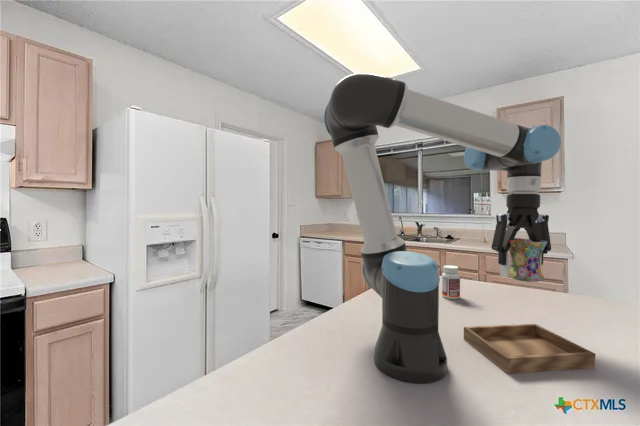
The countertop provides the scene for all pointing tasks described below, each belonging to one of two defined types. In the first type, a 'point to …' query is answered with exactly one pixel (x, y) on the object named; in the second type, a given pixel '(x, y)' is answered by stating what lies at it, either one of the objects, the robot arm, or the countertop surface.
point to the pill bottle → (451, 282)
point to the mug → (526, 259)
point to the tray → (528, 348)
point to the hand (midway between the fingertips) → (520, 276)
